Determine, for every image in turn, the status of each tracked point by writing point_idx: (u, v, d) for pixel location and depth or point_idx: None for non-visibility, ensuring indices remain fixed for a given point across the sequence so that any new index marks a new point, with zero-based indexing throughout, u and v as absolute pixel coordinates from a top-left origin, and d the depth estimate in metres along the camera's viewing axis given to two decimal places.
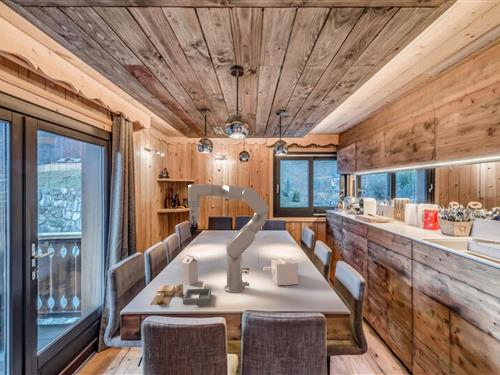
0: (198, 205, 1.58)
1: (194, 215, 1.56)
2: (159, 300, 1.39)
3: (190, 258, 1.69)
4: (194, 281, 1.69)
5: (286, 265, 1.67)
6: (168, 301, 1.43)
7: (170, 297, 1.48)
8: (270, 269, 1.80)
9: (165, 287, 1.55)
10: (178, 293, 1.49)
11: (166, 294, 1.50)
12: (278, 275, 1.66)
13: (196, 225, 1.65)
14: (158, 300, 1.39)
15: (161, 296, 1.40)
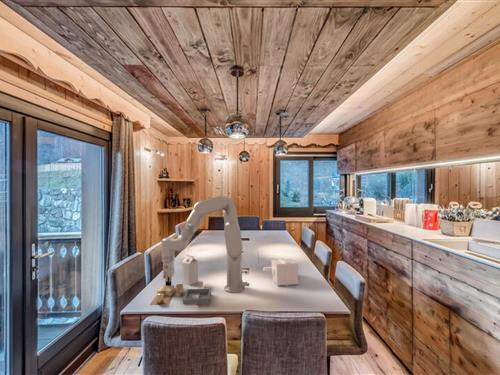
0: (172, 260, 1.57)
1: (167, 271, 1.54)
2: (159, 300, 1.39)
3: (190, 258, 1.69)
4: (194, 281, 1.69)
5: (286, 265, 1.66)
6: (168, 301, 1.43)
7: (170, 297, 1.48)
8: (270, 269, 1.80)
9: (165, 287, 1.54)
10: (178, 293, 1.49)
11: (166, 294, 1.50)
12: (278, 275, 1.66)
13: None
14: (158, 300, 1.39)
15: (161, 296, 1.40)
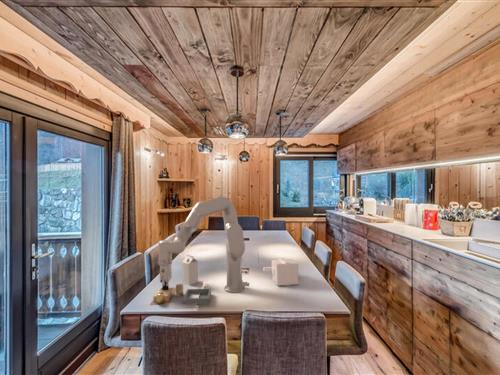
0: (169, 263, 1.50)
1: (164, 275, 1.48)
2: (159, 300, 1.39)
3: (190, 258, 1.69)
4: (194, 281, 1.69)
5: (286, 265, 1.66)
6: (168, 301, 1.43)
7: (170, 297, 1.48)
8: (270, 269, 1.80)
9: (161, 292, 1.48)
10: (178, 293, 1.49)
11: None
12: (278, 275, 1.66)
13: None
14: (158, 300, 1.39)
15: (161, 296, 1.40)
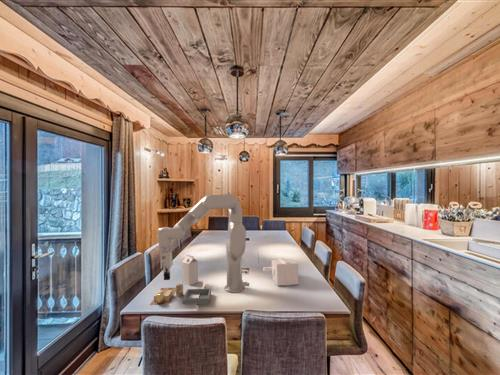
0: (169, 250, 1.50)
1: (165, 261, 1.47)
2: (159, 300, 1.39)
3: (190, 258, 1.69)
4: (194, 281, 1.69)
5: (286, 265, 1.66)
6: (168, 301, 1.43)
7: None
8: (270, 269, 1.80)
9: (162, 292, 1.48)
10: (178, 293, 1.49)
11: None
12: (278, 275, 1.66)
13: None
14: (158, 300, 1.39)
15: (161, 296, 1.40)
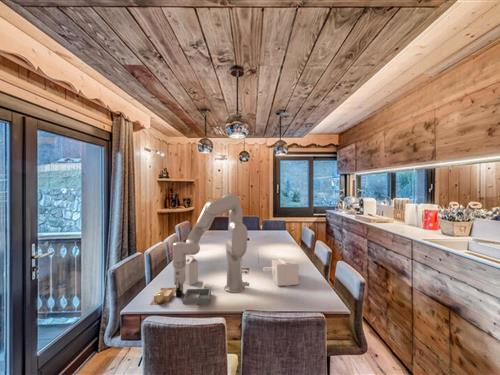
0: (183, 265, 1.49)
1: (179, 277, 1.46)
2: (159, 300, 1.39)
3: (190, 258, 1.69)
4: (194, 281, 1.69)
5: (286, 265, 1.66)
6: (168, 301, 1.43)
7: None
8: (270, 269, 1.80)
9: (162, 292, 1.48)
10: None
11: None
12: (278, 275, 1.65)
13: None
14: (158, 300, 1.39)
15: (161, 296, 1.40)
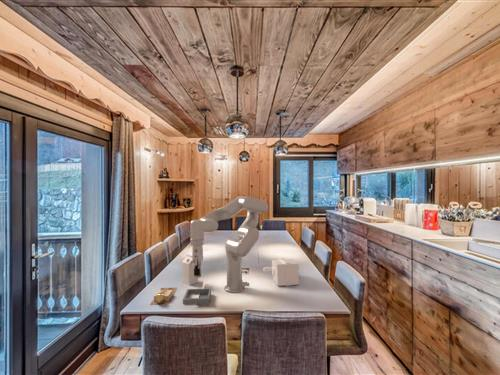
0: (201, 243, 1.45)
1: (197, 255, 1.42)
2: (159, 300, 1.39)
3: (190, 258, 1.69)
4: (194, 281, 1.69)
5: (286, 265, 1.66)
6: (168, 301, 1.43)
7: None
8: (270, 269, 1.79)
9: (162, 292, 1.48)
10: None
11: None
12: (278, 275, 1.65)
13: None
14: (158, 300, 1.39)
15: (161, 296, 1.40)
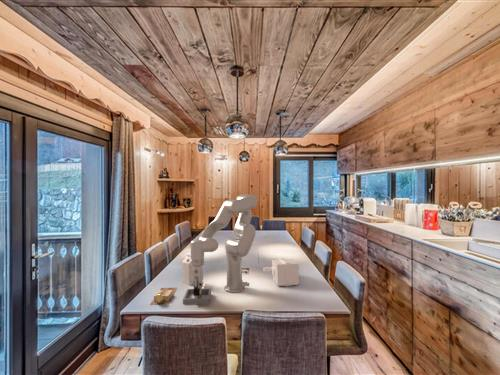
0: (202, 263, 1.45)
1: (197, 276, 1.42)
2: (159, 300, 1.39)
3: (190, 258, 1.69)
4: None
5: (287, 265, 1.65)
6: (168, 301, 1.43)
7: None
8: (271, 269, 1.79)
9: (162, 292, 1.48)
10: None
11: None
12: (279, 276, 1.65)
13: (200, 283, 1.52)
14: (158, 300, 1.39)
15: (161, 296, 1.40)
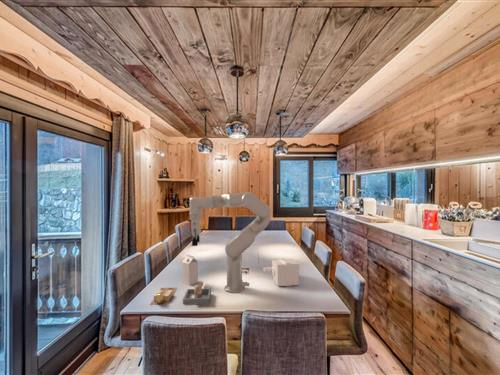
0: (199, 218, 1.60)
1: (196, 228, 1.58)
2: (159, 300, 1.39)
3: (190, 258, 1.69)
4: (194, 281, 1.69)
5: (287, 266, 1.65)
6: (168, 301, 1.43)
7: None
8: (271, 270, 1.79)
9: (162, 292, 1.48)
10: (196, 294, 1.45)
11: None
12: (279, 276, 1.65)
13: (198, 237, 1.67)
14: (158, 300, 1.39)
15: (161, 296, 1.40)
